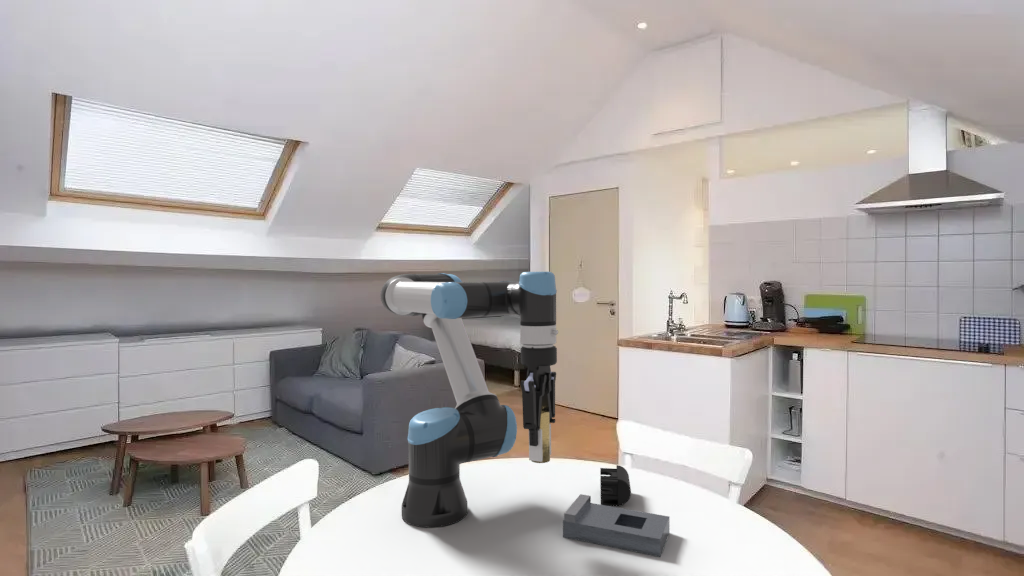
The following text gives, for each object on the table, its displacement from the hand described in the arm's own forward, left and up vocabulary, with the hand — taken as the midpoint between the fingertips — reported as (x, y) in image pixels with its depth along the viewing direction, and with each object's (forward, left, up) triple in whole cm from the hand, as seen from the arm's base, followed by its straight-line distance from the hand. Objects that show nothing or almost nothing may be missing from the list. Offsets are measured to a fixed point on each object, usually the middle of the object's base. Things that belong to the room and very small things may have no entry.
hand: (540, 456), depth 116 cm
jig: (+14, +7, -17) cm, 23 cm away
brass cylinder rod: (0, 0, -1) cm, 1 cm away
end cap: (+9, +26, -17) cm, 32 cm away
